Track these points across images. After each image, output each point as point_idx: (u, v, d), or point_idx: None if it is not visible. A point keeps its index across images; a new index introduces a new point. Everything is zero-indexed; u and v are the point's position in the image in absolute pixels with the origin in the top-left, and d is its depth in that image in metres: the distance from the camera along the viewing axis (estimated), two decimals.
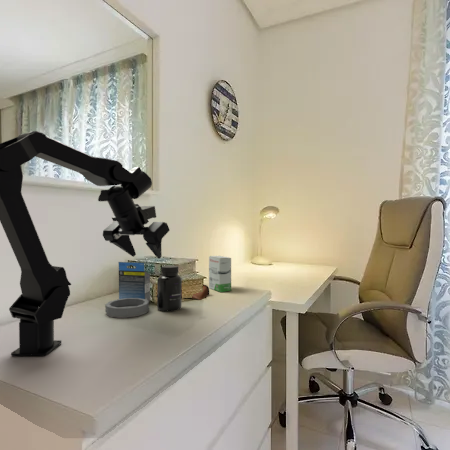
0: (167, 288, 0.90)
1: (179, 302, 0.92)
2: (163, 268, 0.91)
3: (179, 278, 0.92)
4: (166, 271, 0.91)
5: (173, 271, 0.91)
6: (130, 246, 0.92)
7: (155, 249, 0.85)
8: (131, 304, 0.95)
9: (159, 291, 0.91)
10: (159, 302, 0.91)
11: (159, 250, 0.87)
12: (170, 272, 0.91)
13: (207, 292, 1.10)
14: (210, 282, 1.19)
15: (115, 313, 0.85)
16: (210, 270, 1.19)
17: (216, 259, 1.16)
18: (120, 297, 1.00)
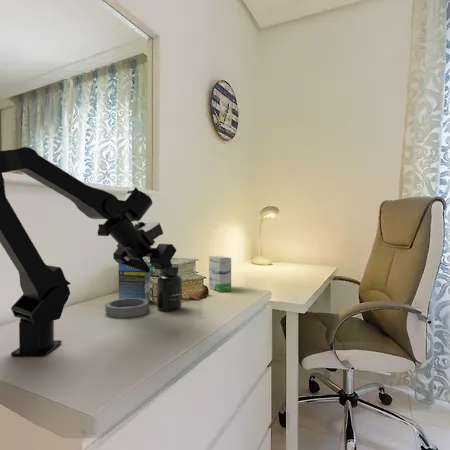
0: (167, 288, 0.90)
1: (179, 302, 0.92)
2: None
3: (179, 278, 0.92)
4: None
5: None
6: (143, 264, 0.91)
7: (165, 270, 0.83)
8: (131, 304, 0.95)
9: (159, 291, 0.91)
10: (159, 302, 0.91)
11: (170, 269, 0.86)
12: None
13: (206, 293, 1.09)
14: (210, 282, 1.19)
15: (115, 313, 0.85)
16: (210, 270, 1.19)
17: (216, 259, 1.16)
18: (120, 297, 1.00)
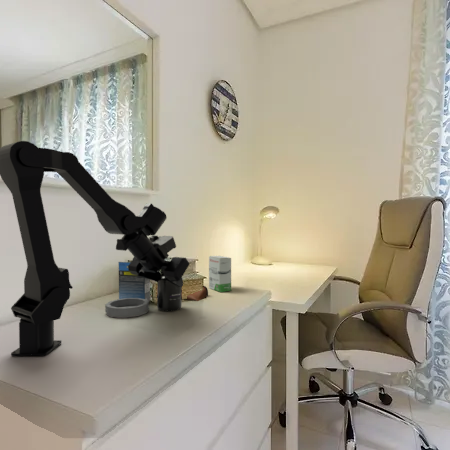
0: (167, 288, 0.90)
1: (179, 302, 0.92)
2: None
3: None
4: None
5: None
6: (159, 275, 0.95)
7: (175, 282, 0.88)
8: (131, 304, 0.95)
9: (159, 291, 0.91)
10: (159, 302, 0.91)
11: (180, 281, 0.90)
12: None
13: (206, 293, 1.08)
14: (210, 282, 1.19)
15: (115, 313, 0.85)
16: (210, 270, 1.19)
17: (216, 259, 1.16)
18: (120, 297, 1.00)
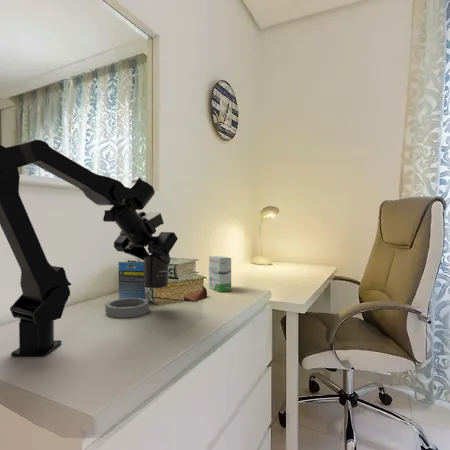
0: (154, 264, 0.89)
1: (166, 279, 0.91)
2: None
3: None
4: None
5: None
6: (145, 253, 0.93)
7: (163, 258, 0.87)
8: (131, 304, 0.95)
9: (146, 268, 0.90)
10: (145, 279, 0.90)
11: (167, 257, 0.89)
12: None
13: (205, 294, 1.07)
14: (210, 282, 1.19)
15: (115, 313, 0.85)
16: (210, 270, 1.19)
17: (216, 259, 1.16)
18: (120, 297, 1.00)
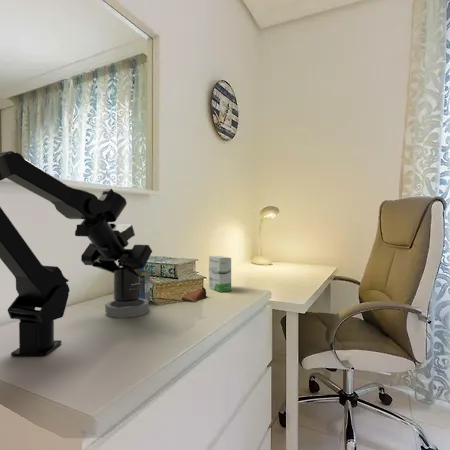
0: (126, 277, 0.86)
1: (138, 292, 0.89)
2: None
3: None
4: (125, 259, 0.87)
5: None
6: (114, 266, 0.90)
7: (136, 271, 0.85)
8: (131, 304, 0.95)
9: (117, 281, 0.87)
10: (116, 293, 0.87)
11: (140, 269, 0.88)
12: None
13: (204, 294, 1.07)
14: (210, 282, 1.19)
15: (115, 313, 0.85)
16: (210, 270, 1.19)
17: (216, 259, 1.16)
18: None
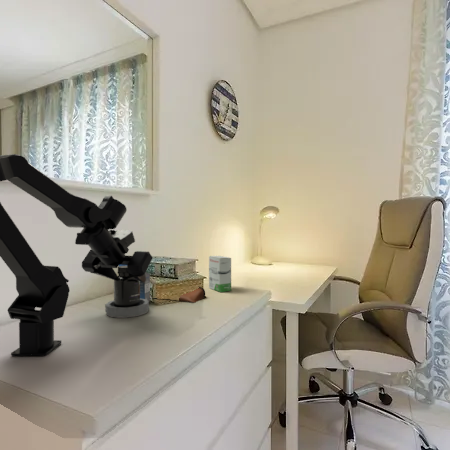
0: (126, 289, 0.86)
1: (138, 303, 0.89)
2: (121, 268, 0.88)
3: None
4: (125, 271, 0.87)
5: None
6: (111, 271, 0.91)
7: (140, 277, 0.85)
8: None
9: (117, 292, 0.87)
10: (116, 305, 0.87)
11: (143, 276, 0.88)
12: None
13: (203, 295, 1.06)
14: (210, 282, 1.19)
15: (115, 313, 0.85)
16: (210, 270, 1.19)
17: (216, 259, 1.16)
18: None
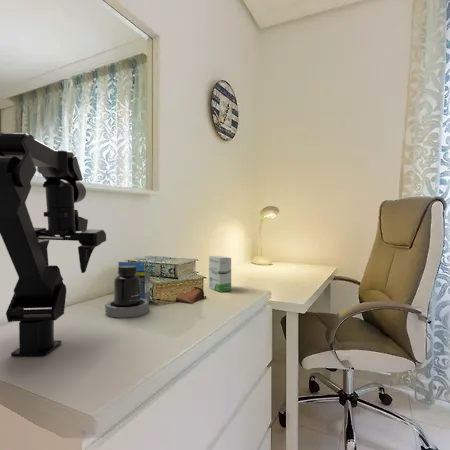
0: (126, 289, 0.86)
1: (138, 303, 0.89)
2: (121, 268, 0.88)
3: (138, 278, 0.89)
4: (125, 271, 0.87)
5: (132, 271, 0.88)
6: (45, 258, 0.79)
7: (85, 258, 0.76)
8: None
9: (117, 293, 0.87)
10: (116, 305, 0.87)
11: (86, 262, 0.78)
12: (129, 273, 0.88)
13: (201, 295, 1.05)
14: (210, 282, 1.19)
15: (115, 313, 0.85)
16: (210, 270, 1.19)
17: (216, 259, 1.16)
18: None
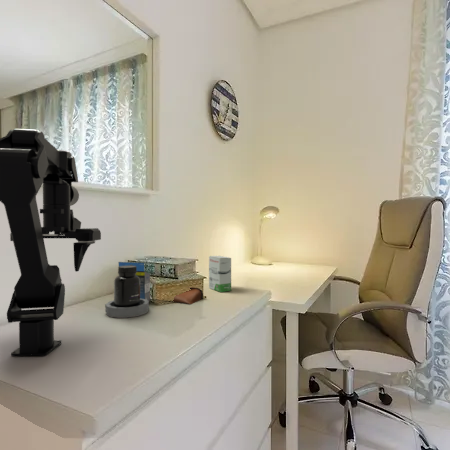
0: (126, 289, 0.86)
1: (138, 303, 0.89)
2: (121, 268, 0.88)
3: (138, 278, 0.89)
4: (125, 271, 0.87)
5: (132, 271, 0.88)
6: None
7: (79, 254, 0.76)
8: None
9: (117, 292, 0.87)
10: (116, 305, 0.87)
11: (80, 260, 0.78)
12: (129, 273, 0.88)
13: (200, 296, 1.04)
14: (210, 282, 1.19)
15: (115, 313, 0.85)
16: (210, 270, 1.19)
17: (216, 259, 1.16)
18: None
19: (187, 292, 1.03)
